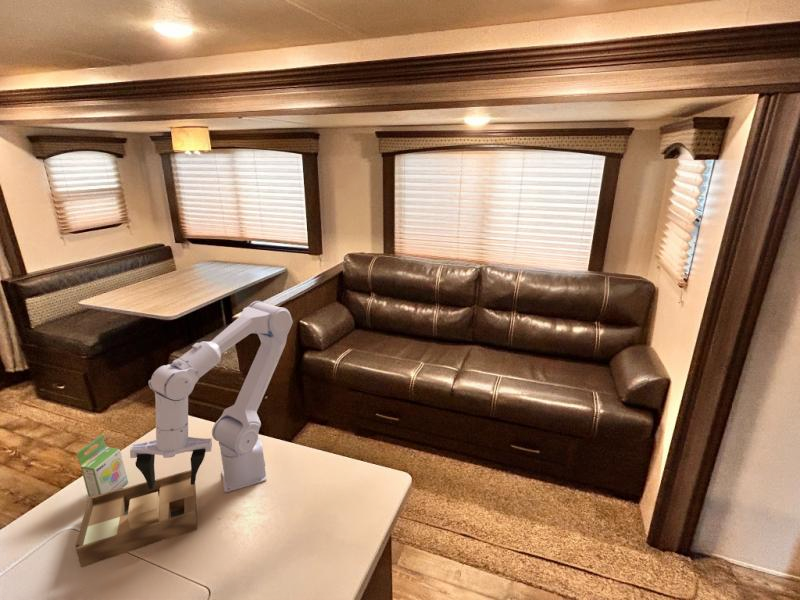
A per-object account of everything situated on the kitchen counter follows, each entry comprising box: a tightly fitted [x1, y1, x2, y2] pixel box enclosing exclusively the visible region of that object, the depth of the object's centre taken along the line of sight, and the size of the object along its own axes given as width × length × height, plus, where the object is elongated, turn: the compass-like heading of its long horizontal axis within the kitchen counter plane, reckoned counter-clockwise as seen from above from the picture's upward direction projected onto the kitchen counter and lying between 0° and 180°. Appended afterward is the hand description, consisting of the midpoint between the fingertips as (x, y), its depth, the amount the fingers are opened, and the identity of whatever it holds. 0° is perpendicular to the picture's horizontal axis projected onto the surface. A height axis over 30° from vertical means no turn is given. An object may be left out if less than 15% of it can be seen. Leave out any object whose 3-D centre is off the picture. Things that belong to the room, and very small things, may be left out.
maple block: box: [127, 492, 161, 530], centre depth 85 cm, size 5×5×4 cm
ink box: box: [76, 433, 129, 498], centre depth 95 cm, size 7×4×13 cm, turn 169°
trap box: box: [74, 469, 198, 568], centre depth 88 cm, size 20×14×5 cm
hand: (172, 483), depth 86 cm, fingers open, 7 cm apart
